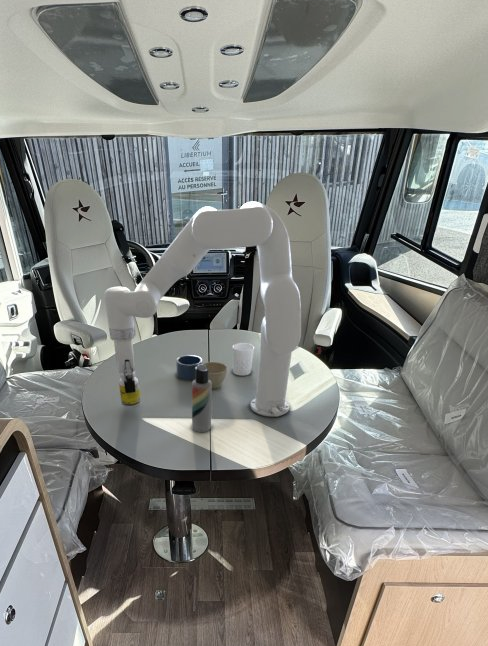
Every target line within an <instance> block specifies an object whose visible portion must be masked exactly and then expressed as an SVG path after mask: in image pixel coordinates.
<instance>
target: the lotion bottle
mask: <svg viewBox="0 0 488 646" xmlns="http://www.w3.org/2000/svg"><path fill="white" fill-rule="evenodd" d="M202 364H203V363H202ZM202 364H200V365H197V367H196V368H195V380H192V382H191V427H192V429H193V430H194V431H195V432H197V433H205V432H208V431H209V430H211V428H212V427H211V426H212V394H213V393H212V391H213V389H212V382H211V381H210V380H209V367H208V366H207V365H202Z"/></svg>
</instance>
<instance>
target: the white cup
mask: <svg viewBox="0 0 488 646" xmlns="http://www.w3.org/2000/svg"><path fill="white" fill-rule="evenodd" d="M254 351H255V346H254V345H253V344H251V343H246V342H239V343H235V344H233V345H232V373H233V374H235V375H236V376H244V377H245V376H249V375H250V374H251V372H252V366H253V358H254Z"/></svg>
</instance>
